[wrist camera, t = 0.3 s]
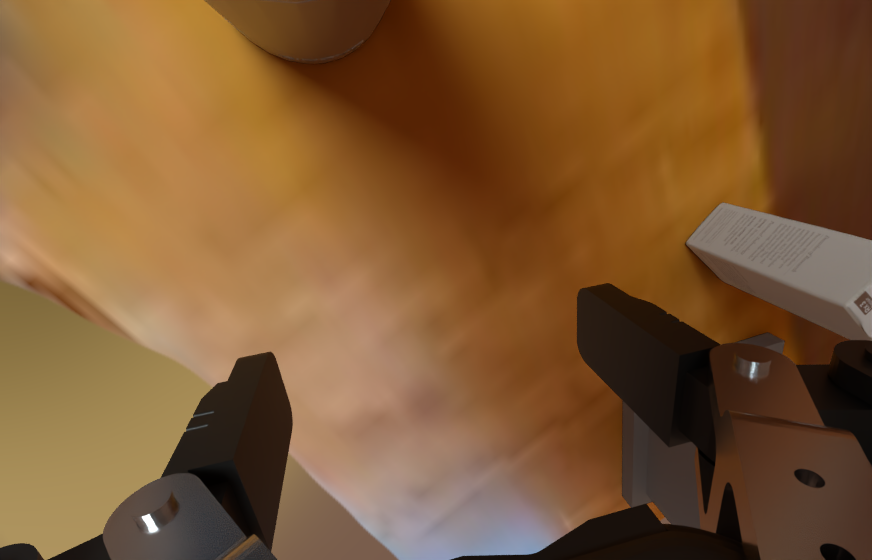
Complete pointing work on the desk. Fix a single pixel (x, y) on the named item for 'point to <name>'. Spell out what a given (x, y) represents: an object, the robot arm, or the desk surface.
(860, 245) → the skincare box
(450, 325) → the desk surface
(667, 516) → the grey pedestal
